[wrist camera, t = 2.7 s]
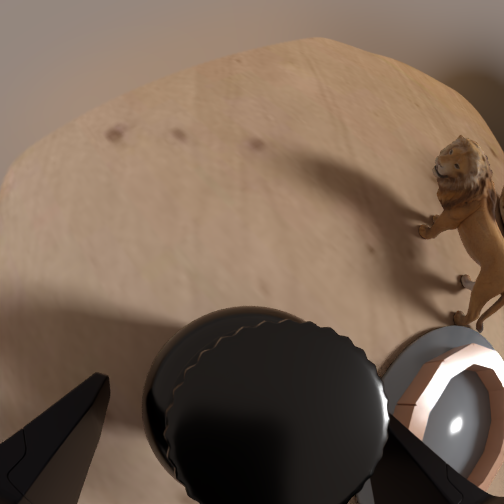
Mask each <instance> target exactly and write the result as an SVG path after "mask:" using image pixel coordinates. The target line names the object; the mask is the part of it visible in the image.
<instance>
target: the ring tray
mask: <svg viewBox="0 0 504 504" xmlns="http://www.w3.org/2000/svg"><path fill="white" fill-rule="evenodd" d="M381 379H382V380H383V382H384V392H385V394H386V396H387V397H388V399H389V405H388V411H389V412H390V413H391V414H392V415H393V416H394V417H395V418H396V419H397V420H399V421H400V422H401V423H402V424H403V425H404V426H405V427H406V428H407V429H409V430H410V431H411V432H412V433H413V434H414V435H415V436H417V437H418V438H419V439H420V440H421V441H422V442H423V443H424V444H426V445H427V446H428V447H429V448H430V449H431V450H432V451H434V452H435V453H436V454H437V455H438V456H439V457H440V458H442V459H443V460H444V461H445V462H446V463H447V464H449V465H450V466H451V467H452V468H453V469H454V470H456V471H457V472H458V473H459V474H461V475H462V476H463V477H465V478H466V479H467V480H469V481H470V482H472V483H473V484H475V485H476V486H478V487H479V488H480V489H482V490H483V491H485V492H486V491H487V489H488V488H489V486H490V485H491V483H492V481H493V479H494V478H495V476H496V474H497V473H498V471H499V469H500V467H501V465H502V463H503V462H504V362H503V360H502V359H501V357H500V355H499V353H498V352H497V351H495V350H494V348H493V347H492V345H491V344H490V343H489V342H488V341H487V340H486V339H485V338H484V337H483V336H482V335H481V334H479V333H478V332H476V331H474V330H472V329H470V328H467V327H463V326H447V327H442V328H439V329H436V330H433V331H430V332H428V333H426V334H424V335H422V336H420V337H419V338H418V339H416V340H415V341H413V342H412V343H411V344H409V345H408V346H407V347H406V348H405V349H404V350H403V351H402V352H401V353H400V354H399V355H398V357H397V358H396V359H395V360H394V361H393V363H392V364H391V365H390V366H389V368H388V369H387V371H386V372H385V374H384V375H383V377H382V378H381ZM356 497H357V501H358V503H359V504H374V498H373V493H372V488H371V482H370V478H369V479H368V480H367V481H366V482H365V484H364V487H363V488H362V490H361V491H360V492H359V493H357V494H356Z"/></svg>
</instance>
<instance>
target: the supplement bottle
mask: <svg viewBox="0 0 504 504" xmlns="http://www.w3.org/2000/svg"><path fill="white" fill-rule="evenodd" d="M388 405H389V399H388V397H387V396H386V394H385V392H384V382H383V380H382V379H381V378H380V377H379V376H378V374H377V369H376V366H375V364H373V363H372V362H371V361H369V360H368V359H367V357H366V354H365V352H364V350H363V349H361V348H358V347H356V346H354V344H353V343H352V341H351V340H350V339H349V337H346V336H340V335H338V334H337V333H336V332H335V331H334V330H333V329H332V328H330V327H321V328H320V327H319V326H317V325H316V324H314V323H313V322H311V321H307V322H306V321H304V320H303V319H301V318H299V317H296V316H294V315H292V314H289V313H287V312H284V311H281V310H277V309H273V308H267V307H259V306H239V307H231V308H226V309H221V310H218V311H215V312H212V313H209V314H207V315H204V316H202V317H200V318H198V319H196V320H194V321H192V322H191V323H189V324H188V325H186V326H185V327H183V328H182V329H181V330H179V331H178V332H177V333H176V334H175V335H174V336H173V337H172V338H171V339H170V340H169V341H168V342H167V343H166V344H165V345H164V346H163V348H162V349H161V350H160V352H159V353H158V355H157V356H156V358H155V360H154V362H153V363H152V365H151V367H150V370H149V372H148V375H147V377H146V381H145V385H144V389H143V395H142V419H143V425H144V430H145V433H146V437H147V440H148V442H149V444H150V447H151V449H152V451H153V452H154V454H155V456H156V458H157V459H158V461H159V462H160V464H161V465H162V466H163V467H164V469H165V470H166V471H167V472H168V473H169V474H170V475H171V476H172V477H173V478H174V479H175V480H176V481H177V482H179V483H180V484H181V485H183V486H184V487H185V490H186V492H187V495H188V496H189V497H190V498H192V499H193V500H195V501H197V502H199V503H200V504H347V503H348V502H349V500H350V499H351V498H352V497H353V496H354V495H356V494H357V493H359V492H360V491H361V490H362V488H363V487H364V484H365V482H366V481H367V480H368V479H369V478H370V477H371V476H372V475H373V474H374V471H375V468H376V465H377V464H378V462H379V461H380V460H381V458H382V457H383V448H384V446H385V444H386V442H387V440H388V426H389V423H390V415H389V412H388Z"/></svg>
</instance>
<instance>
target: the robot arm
mask: <svg viewBox="0 0 504 504" xmlns="http://www.w3.org/2000/svg"><path fill="white" fill-rule="evenodd" d="M109 399H110V383H109V377H108V375H106V374H102V373H99V372H96V373H94V374H93V375H91V376H90V377H89V378H88V379H86V380H85V381H84V382H82V383H81V384H80V385H78V386H77V387H76V388H74V389H73V390H72V391H70V392H69V393H68V394H67V395H65V396H64V397H63V398H61V399H60V400H59V401H57V402H56V403H55V404H53V405H52V406H51V407H50V408H48V409H47V410H46V411H44V412H43V413H42V414H40V415H39V416H38V417H36V418H35V419H34V420H33V421H31V422H30V423H29V424H27V425H26V426H25V427H24V428H23V429H21V430H19V431H18V432H17V433H15V434H14V435H13V436H11V437H10V438H8V439H7V440H5V441H4V442H2V443H1V444H0V504H77V502H78V499H79V496H80V493H81V490H82V487H83V484H84V481H85V478H86V475H87V472H88V469H89V467H90V464H91V461H92V458H93V455H94V452H95V450H96V447H97V444H98V442H99V439H100V435H101V431H102V427H103V423H104V419H105V415H106V411H107V407H108V403H109ZM388 412H389V411H388ZM389 415H390V423H389V426H388V440H387V442H386V444H385V446H384V448H383V457H382V458H381V460H380V461H379V462H378V464H377V465H376V468H375V471H374V474H373V475H372V476H371V477H370V482H371V488H372V493H373V498H374V504H504V497H497V496H493V495H490V494H488V493H486V492H485V491H483V490H482V489H480V488H479V487H478V486H476V485H475V484H473V483H472V482H470V481H469V480H467V479H466V478H465V477H463V476H462V475H461V474H459V473H458V472H457V471H456V470H454V469H453V468H452V467H451V466H450V465H449V464H447V463H446V462H445V461H444V460H443V459H442V458H440V457H439V456H438V455H437V454H436V453H435V452H434V451H432V450H431V449H430V448H429V447H428V446H427V445H426V444H424V443H423V442H422V441H421V440H420V439H419V438H418V437H417V436H415V435H414V434H413V433H412V432H411V431H410V430H409V429H407V428H406V427H405V426H404V425H403V424H402V423H401V422H400V421H399V420H397V419H396V418H395V417H394V416H393V415H392V414H391V413H390V412H389Z"/></svg>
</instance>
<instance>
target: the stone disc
mask: <svg viewBox="0 0 504 504" xmlns="http://www.w3.org/2000/svg"><path fill="white" fill-rule="evenodd" d="M500 212H501V216H502V220H503V223H504V187H503V189H502V192H501V196H500Z"/></svg>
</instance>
